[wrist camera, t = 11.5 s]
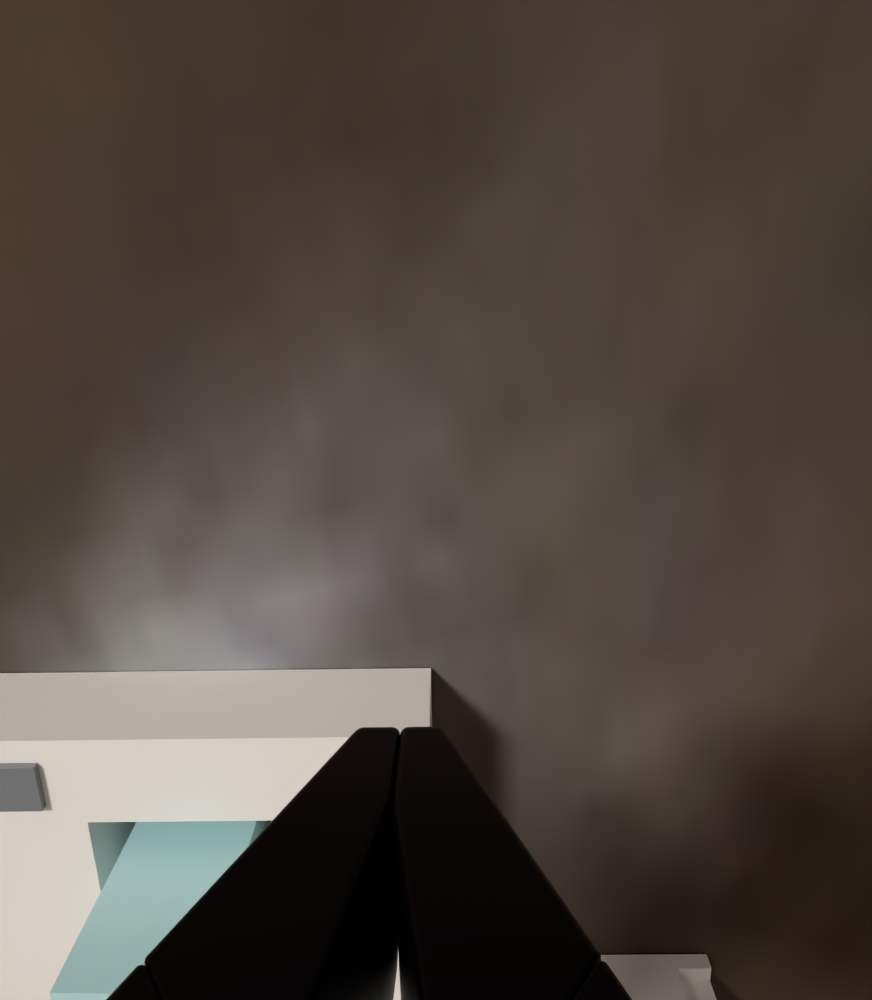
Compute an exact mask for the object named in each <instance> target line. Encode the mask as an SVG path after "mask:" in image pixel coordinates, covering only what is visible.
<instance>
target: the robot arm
mask: <svg viewBox="0 0 872 1000" xmlns="http://www.w3.org/2000/svg"><path fill="white" fill-rule="evenodd" d="M398 952H399V975H400V992H401V1000H632V999H631V997H630V996H629V994H628V993H627V992H626V990H625V989H624V987H623V986H622V984H621V983H620V981H619V980H618V979H617V977H616V976H615V974H614V973H613V971H612V970H611V968H610V967H609V966H608V964H607V963H606V962H604V961H601V955H600V953H599V952H598V950H597V949H596V948H595V946H594V945H593V943H592V942H591V940H590V939H589V938H588V936H587V935H586V933H585V932H584V930H583V929H582V927H581V926H580V925H579V923H578V922H577V920H576V919H575V917H574V916H573V915H572V913H571V912H570V910H569V909H568V907H567V906H566V904H565V903H564V902H563V900H562V899H561V897H560V896H559V894H558V893H557V892H556V890H555V889H554V887H553V886H552V884H551V883H550V881H549V880H548V879H547V877H546V876H545V874H544V873H543V871H542V870H541V869H540V867H539V866H538V864H537V863H536V861H535V860H534V858H533V857H532V856H531V854H530V853H529V851H528V850H527V848H526V847H525V845H524V844H523V843H522V841H521V840H520V838H519V837H518V835H517V834H516V833H515V831H514V830H513V828H512V827H511V825H510V824H509V822H508V821H507V820H506V818H505V817H504V815H503V814H502V812H501V811H500V810H499V808H498V807H497V805H496V804H495V802H494V801H493V799H492V798H491V797H490V795H489V794H488V792H487V791H486V789H485V788H484V787H483V785H482V784H481V782H480V781H479V779H478V778H477V776H476V775H475V774H474V772H473V771H472V769H471V768H470V766H469V765H468V764H467V762H466V761H465V759H464V758H463V756H462V755H461V753H460V752H459V751H458V749H457V748H456V746H455V745H454V743H453V742H452V741H451V739H450V738H449V736H448V735H447V733H446V732H445V731H444V730H443V729H442V728H441V727H437V726H435V727H406V728H404V729H403V730H402V731H401V733H400V732H399V731H398V729H396V728H394V727H362V728H359V729H357V730H356V731H355V732H354V733H353V734H352V735H351V736H350V737H349V738H348V739H347V741H346V742H345V743H344V744H343V745H342V746H341V747H340V748H339V749H338V750H337V751H336V752H335V754H334V755H333V756H332V757H331V758H330V759H329V760H328V761H327V762H326V763H325V764H324V765H323V766H322V768H321V769H320V770H319V771H318V772H317V773H316V774H315V775H314V776H313V777H312V778H311V779H310V780H309V782H308V783H307V784H306V785H305V786H304V787H303V788H302V789H301V790H300V791H299V792H298V793H297V795H296V796H295V797H294V798H293V799H292V800H291V801H290V802H289V803H288V804H287V805H286V806H285V807H284V809H283V810H282V811H281V812H280V813H279V814H278V815H277V816H276V817H275V818H274V819H273V820H272V822H271V823H270V824H269V825H268V826H267V827H266V828H265V829H264V830H263V831H262V832H261V833H260V834H259V836H258V837H257V838H256V839H255V840H254V841H253V842H252V843H251V844H250V845H249V846H248V847H247V848H246V850H245V851H244V852H243V853H242V854H241V855H240V856H239V857H238V858H237V859H236V860H235V861H234V863H233V864H232V865H231V866H230V867H229V868H228V869H227V870H226V871H225V872H224V873H223V874H222V875H221V877H220V878H219V879H218V880H217V881H216V882H215V883H214V884H213V885H212V886H211V887H210V888H209V889H208V891H207V892H206V893H205V894H204V895H203V896H202V897H201V898H200V899H199V900H198V901H197V902H196V904H195V905H194V906H193V907H192V908H191V909H190V910H189V911H188V912H187V913H186V914H185V915H184V916H183V918H182V919H181V920H180V921H179V922H178V923H177V924H176V925H175V926H174V927H173V928H172V929H171V931H170V932H169V933H168V934H167V935H166V936H165V937H164V938H163V939H162V940H161V941H160V942H159V943H158V945H157V946H156V947H155V948H154V949H153V950H152V951H151V952H150V953H149V954H148V955H147V956H146V958H145V962H144V963H145V965H138V966H137V967H136V968H135V969H134V970H133V971H132V972H131V973H130V974H129V975H128V976H127V977H126V979H125V980H124V981H123V982H122V983H121V984H120V985H119V986H118V987H117V988H116V989H115V990H114V991H113V993H112V994H111V995H110V996H109V997H108V998H107V999H106V1000H393V998H394V990H395V982H396V974H397V962H398Z"/></svg>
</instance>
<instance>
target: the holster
mask: <svg viewBox="0 0 872 1000" xmlns="http://www.w3.org/2000/svg"><path fill="white" fill-rule="evenodd" d="M601 961H604V962H606V963H607V964H608V966H609V967H610V968H611V970H612V971H613V973H614V974H615V976H616V977H617V979H618V980H619V981H620V983H621V984H622V986H623V987H624V989H625V990H626V992H627V993H628V994H629V996H630V997H631V999H632V1000H716V997H715V994H714V991H713V988H712V985H711V983H710V977H711V969H712V968H711V966H710V963H709V960H708V957H707V955H706V954H647V955H601Z"/></svg>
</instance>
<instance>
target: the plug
mask: <svg viewBox="0 0 872 1000" xmlns="http://www.w3.org/2000/svg"><path fill="white" fill-rule="evenodd" d="M271 822H272V821H180V822H136V824H135V826H134V828H133V830H132V832H131V834H130V836H129V838H128V840H127V841H126V843H125V845H124V847H123V849H122V851H121V853H120V855H119V857H118V859H117V861H116V863H115V865H114V867H113V869H112V871H111V873H110V875H109V877H108V879H107V881H106V883H105V885H104V887H103V889H102V891H101V893H100V895H99V897H98V899H97V901H96V903H95V905H94V906H93V908H92V910H91V912H90V914H89V916H88V918H87V920H86V922H85V924H84V926H83V928H82V930H81V932H80V934H79V936H78V938H77V940H76V942H75V944H74V946H73V948H72V950H71V952H70V954H69V956H68V958H67V960H66V962H65V964H64V966H63V968H62V969H61V971H60V973H59V975H58V977H57V979H56V981H55V983H54V985H53V987H52V989H51V991H50V998H51V1000H106V999H107V998H108V997H109V996H110V995H111V994H112V993H113V991H114V990H115V989H116V988H117V987H118V986H119V985H120V984H121V983H122V982H123V981H124V980H125V979H126V977H127V976H128V975H129V974H130V973H131V972H132V971H133V970H134V969H135V968H136V967H137V966H138V965H145V963H144V962H145V958H146V956H147V955H148V954H149V953H150V952H151V951H152V950H153V949H154V948H155V947H156V946H157V945H158V943H159V942H160V941H161V940H162V939H163V938H164V937H165V936H166V935H167V934H168V933H169V932H170V931H171V929H172V928H173V927H174V926H175V925H176V924H177V923H178V922H179V921H180V920H181V919H182V918H183V916H184V915H185V914H186V913H187V912H188V911H189V910H190V909H191V908H192V907H193V906H194V905H195V904H196V902H197V901H198V900H199V899H200V898H201V897H202V896H203V895H204V894H205V893H206V892H207V891H208V889H209V888H210V887H211V886H212V885H213V884H214V883H215V882H216V881H217V880H218V879H219V878H220V877H221V875H222V874H223V873H224V872H225V871H226V870H227V869H228V868H229V867H230V866H231V865H232V864H233V863H234V861H235V860H236V859H237V858H238V857H239V856H240V855H241V854H242V853H243V852H244V851H245V850H246V848H247V847H248V846H249V845H250V844H251V843H252V842H253V841H254V840H255V839H256V838H257V837H258V836H259V834H260V833H261V832H262V831H263V830H264V829H265V828H266V827H267V826H268V825H269V824H270V823H271Z"/></svg>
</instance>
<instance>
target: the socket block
mask: <svg viewBox="0 0 872 1000" xmlns="http://www.w3.org/2000/svg"><path fill="white" fill-rule="evenodd" d="M362 727H394V728H396V729H398V731H399V732H400V733H401V731H402V730H403V729H404V728H406V727H432V693H431V668H403V669H321V670H239V671H157V672H75V673H0V1000H51V998H50V991H51V989H52V987H53V985H54V983H55V981H56V979H57V977H58V975H59V973H60V971H61V969H62V968H63V966H64V964H65V962H66V960H67V958H68V956H69V954H70V952H71V950H72V948H73V946H74V944H75V942H76V940H77V938H78V936H79V934H80V932H81V930H82V928H83V926H84V924H85V922H86V920H87V918H88V916H89V914H90V912H91V910H92V908H93V906H94V905H95V903H96V901H97V899H98V897H99V895H100V893H101V891H102V889H103V887H104V885H105V883H106V881H107V879H108V877H109V875H110V873H111V871H112V869H113V867H114V865H115V863H116V861H117V859H118V857H119V855H120V853H121V851H122V849H123V847H124V845H125V843H126V841H127V840H128V838H129V836H130V834H131V832H132V830H133V828H134V826H135V824H136V822H180V821H272V820H273V819H274V818H275V817H276V816H277V815H278V814H279V813H280V812H281V811H282V810H283V809H284V807H285V806H286V805H287V804H288V803H289V802H290V801H291V800H292V799H293V798H294V797H295V796H296V795H297V793H298V792H299V791H300V790H301V789H302V788H303V787H304V786H305V785H306V784H307V783H308V782H309V780H310V779H311V778H312V777H313V776H314V775H315V774H316V773H317V772H318V771H319V770H320V769H321V768H322V766H323V765H324V764H325V763H326V762H327V761H328V760H329V759H330V758H331V757H332V756H333V755H334V754H335V752H336V751H337V750H338V749H339V748H340V747H341V746H342V745H343V744H344V743H345V742H346V741H347V739H348V738H349V737H350V736H351V735H352V734H353V733H354V732H355V731H356V730H357V729H359V728H362ZM393 1000H401V992H400V975H399V952H398V962H397V974H396V982H395V990H394V998H393Z"/></svg>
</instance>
